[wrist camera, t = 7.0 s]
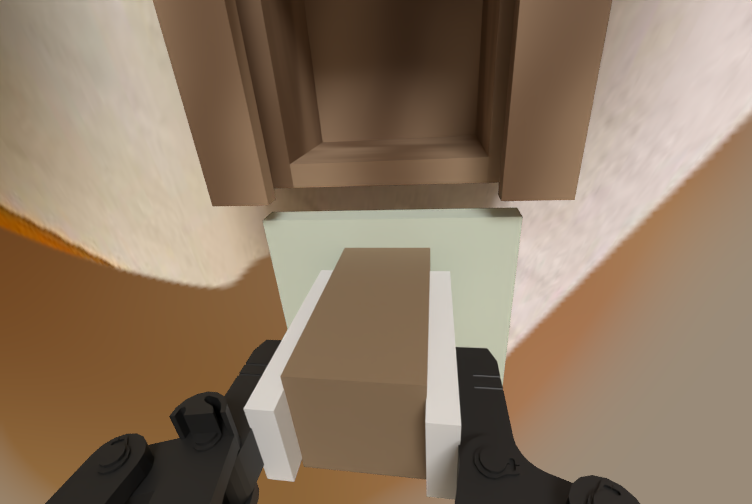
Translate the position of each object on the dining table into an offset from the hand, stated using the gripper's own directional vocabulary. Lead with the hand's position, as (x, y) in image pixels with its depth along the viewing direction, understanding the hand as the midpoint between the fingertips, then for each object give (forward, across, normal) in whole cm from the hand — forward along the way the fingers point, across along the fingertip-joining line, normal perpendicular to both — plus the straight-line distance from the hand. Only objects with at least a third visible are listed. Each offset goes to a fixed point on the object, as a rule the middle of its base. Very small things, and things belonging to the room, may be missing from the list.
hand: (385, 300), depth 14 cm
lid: (+2, 0, -2) cm, 3 cm away
